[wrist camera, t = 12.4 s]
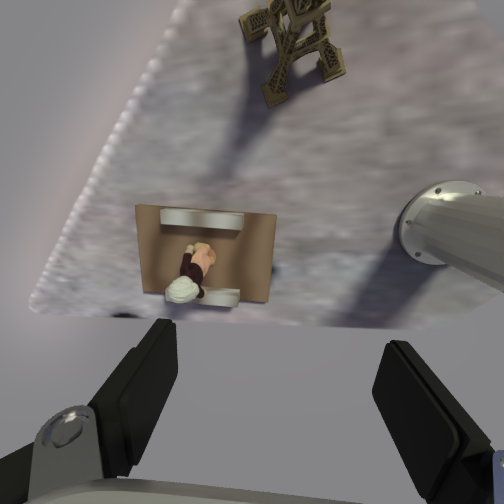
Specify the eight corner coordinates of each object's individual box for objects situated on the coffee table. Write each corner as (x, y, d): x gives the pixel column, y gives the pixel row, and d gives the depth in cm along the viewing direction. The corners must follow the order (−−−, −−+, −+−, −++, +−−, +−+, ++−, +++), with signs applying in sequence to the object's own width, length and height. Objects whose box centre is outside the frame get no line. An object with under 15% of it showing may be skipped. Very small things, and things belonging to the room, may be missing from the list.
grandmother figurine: (183, 241, 38) (145, 274, 26) (204, 232, 37) (175, 261, 25) (205, 281, 40) (179, 329, 28) (225, 273, 39) (207, 319, 27)
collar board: (276, 214, 37) (277, 219, 33) (268, 298, 41) (268, 310, 38) (138, 204, 37) (126, 207, 34) (146, 288, 42) (136, 298, 39)
